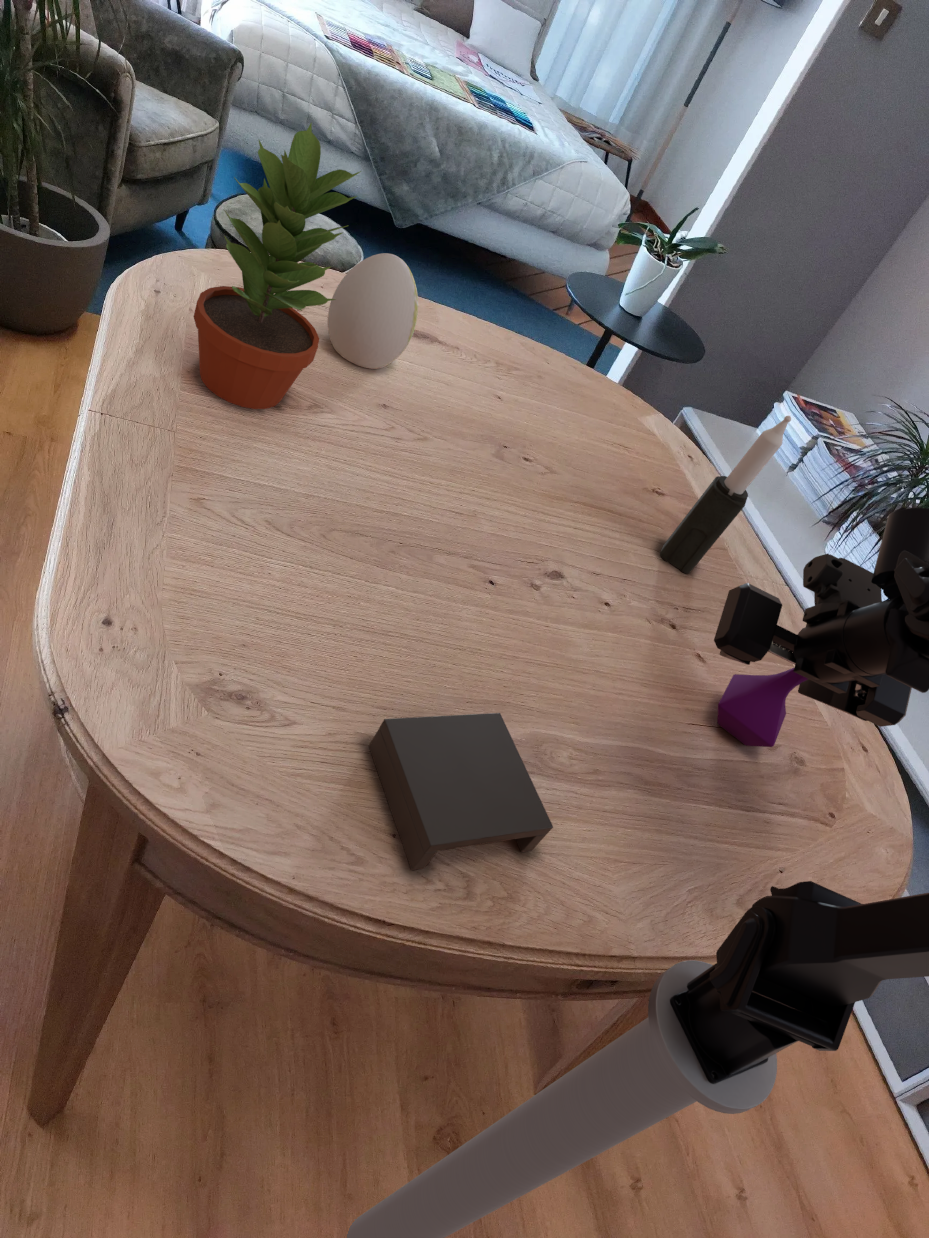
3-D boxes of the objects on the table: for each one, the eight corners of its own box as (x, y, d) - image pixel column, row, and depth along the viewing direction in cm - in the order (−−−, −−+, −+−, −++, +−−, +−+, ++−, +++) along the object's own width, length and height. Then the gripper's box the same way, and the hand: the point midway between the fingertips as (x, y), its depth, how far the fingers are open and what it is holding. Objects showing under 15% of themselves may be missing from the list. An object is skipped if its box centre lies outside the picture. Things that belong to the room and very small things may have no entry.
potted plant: (204, 419, 96) (275, 154, 77) (166, 343, 103) (223, 85, 85) (320, 427, 105) (409, 191, 86) (277, 356, 113) (351, 126, 94)
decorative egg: (413, 373, 126) (454, 282, 117) (357, 382, 117) (395, 283, 108) (360, 326, 129) (395, 233, 120) (301, 331, 120) (334, 231, 111)
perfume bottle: (768, 729, 101) (875, 630, 90) (754, 763, 95) (867, 662, 84) (717, 690, 102) (816, 588, 91) (701, 721, 96) (805, 616, 85)
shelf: (531, 850, 73) (553, 827, 71) (411, 870, 67) (430, 845, 64) (482, 737, 80) (500, 712, 77) (368, 745, 73) (384, 718, 71)
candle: (694, 560, 123) (808, 421, 107) (688, 576, 119) (805, 433, 103) (665, 541, 123) (774, 399, 107) (658, 556, 119) (770, 411, 103)
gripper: (982, 602, 73) (857, 636, 87) (801, 508, 70) (703, 560, 85) (957, 720, 69) (832, 735, 84) (767, 627, 67) (671, 659, 81)
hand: (761, 669), depth 84 cm, fingers open, 9 cm apart
